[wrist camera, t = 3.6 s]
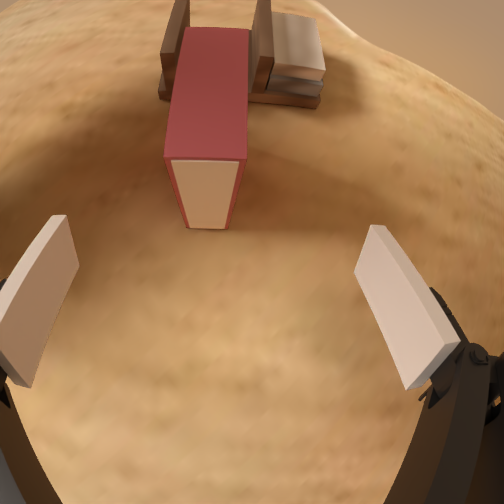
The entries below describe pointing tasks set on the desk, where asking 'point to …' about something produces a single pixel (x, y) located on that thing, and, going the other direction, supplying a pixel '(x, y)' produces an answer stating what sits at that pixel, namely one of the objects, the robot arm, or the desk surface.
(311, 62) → the book stand
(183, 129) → the book
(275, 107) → the desk surface
